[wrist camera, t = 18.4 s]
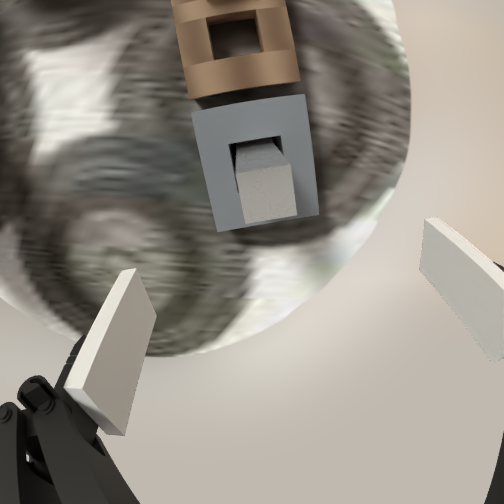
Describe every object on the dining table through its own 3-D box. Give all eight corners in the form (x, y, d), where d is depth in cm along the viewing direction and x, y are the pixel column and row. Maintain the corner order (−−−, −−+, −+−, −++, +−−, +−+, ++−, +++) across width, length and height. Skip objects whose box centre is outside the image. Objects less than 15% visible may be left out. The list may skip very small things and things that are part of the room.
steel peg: (242, 174, 37) (245, 224, 23) (236, 143, 35) (235, 173, 21) (274, 169, 37) (297, 215, 23) (269, 138, 35) (290, 164, 21)
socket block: (194, 99, 33) (189, 99, 29) (169, -35, 23) (163, -46, 20) (294, 83, 32) (300, 81, 28) (265, -50, 23) (268, -64, 19)
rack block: (219, 216, 40) (217, 232, 35) (197, 111, 33) (190, 112, 29) (310, 201, 39) (319, 214, 35) (296, 94, 33) (304, 93, 28)
